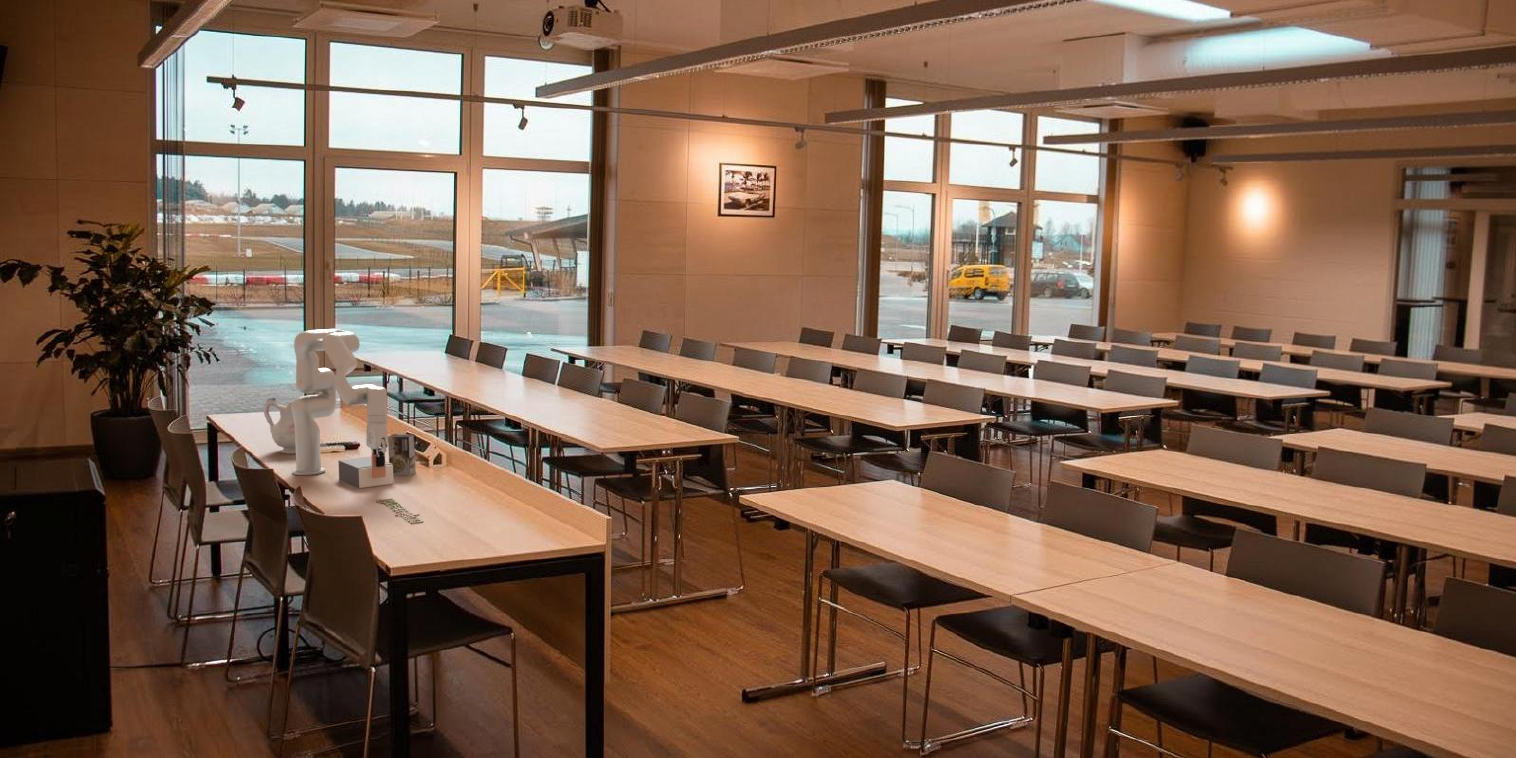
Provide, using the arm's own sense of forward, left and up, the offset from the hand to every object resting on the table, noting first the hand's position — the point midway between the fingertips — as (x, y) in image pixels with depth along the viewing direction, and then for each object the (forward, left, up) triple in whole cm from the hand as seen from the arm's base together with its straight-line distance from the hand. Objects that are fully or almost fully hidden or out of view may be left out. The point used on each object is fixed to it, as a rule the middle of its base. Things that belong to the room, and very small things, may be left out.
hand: (378, 465), depth 465 cm
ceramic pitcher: (-93, 0, -9) cm, 93 cm away
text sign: (+41, -10, -9) cm, 44 cm away
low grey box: (-13, 0, -9) cm, 15 cm away
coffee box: (-19, +18, -9) cm, 27 cm away
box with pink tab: (-10, 0, -8) cm, 13 cm away
